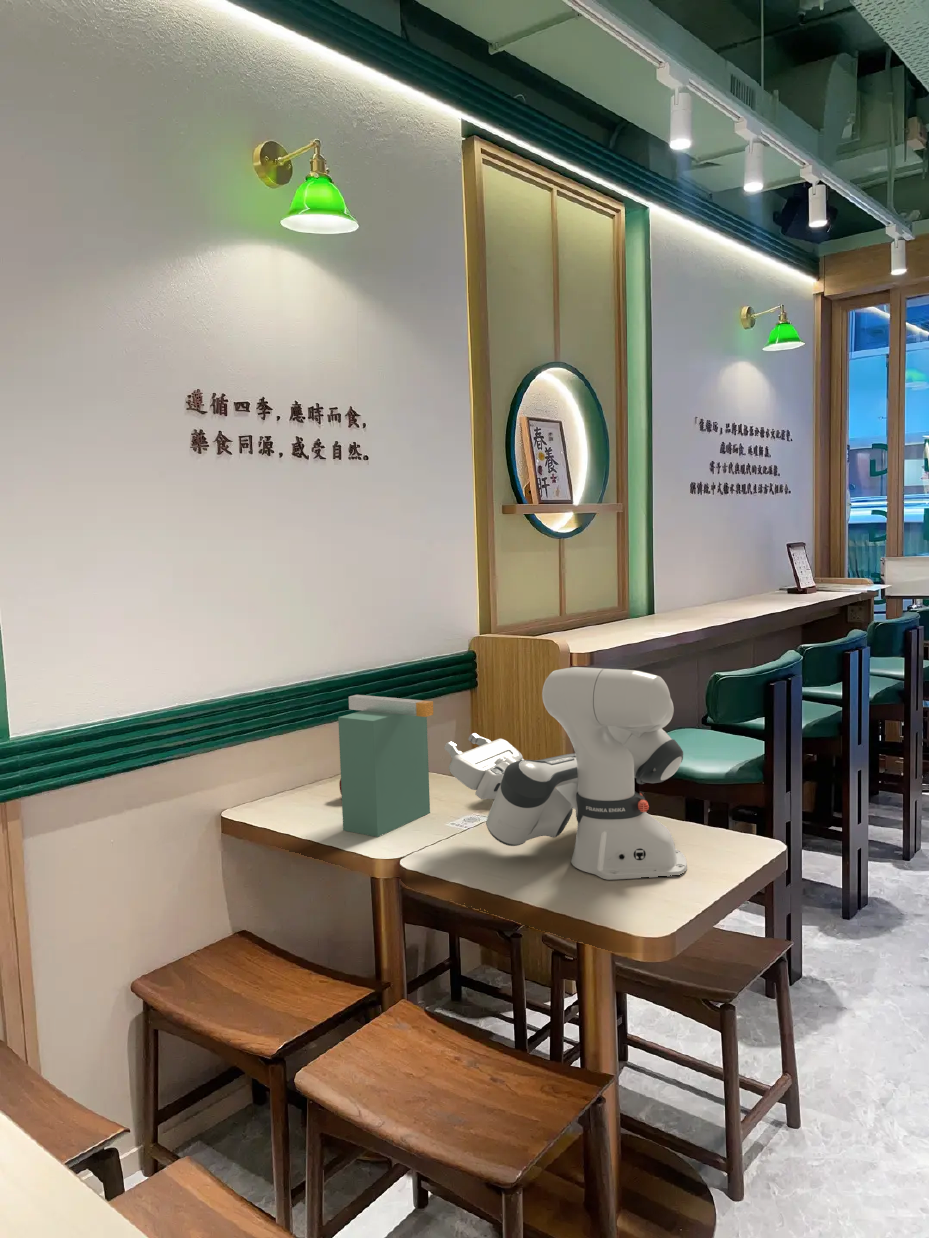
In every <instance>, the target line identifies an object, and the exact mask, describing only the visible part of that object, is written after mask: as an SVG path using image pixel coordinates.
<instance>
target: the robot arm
mask: <svg viewBox="0 0 929 1238" xmlns="http://www.w3.org/2000/svg"><path fill="white" fill-rule="evenodd" d="M665 681H666V680H664V679H663V678H662V677H661V676H660V675H656V674H653V673H649V672H645V671H642V670H635V669H619V668H599V667H581V666H580V667H579V666H573V667H572V666H571V667H566V668H561V669H556V670H555V669H554V670H553V671H552V672H550V673H549V675H548V676H547V677H546V679H545V680H544V683H543V686H542V691H541V692H542V693H541V697H542V703H543V706H544V707H545V710H546V711H547V712H548V714H549V715H550V716H551V717H553V718H554V719H555V720H556V721H557V722H558V723H559V724H560V726H561V727H562V728H563V730H564V731H565V732H566V735H567V736H568V738H569V740H570V742H571V745H572V746H573V750H574V753H567V754H561V755H556V756H552V757H546V758H542V759H541V758H540V759H535V760H534V759H524V758H523V755H522V753H521V752H520V750H518V749H517V748H516V747H515V746H513V745H512V744H511V743H510V742H509V741H507V740H506V739H504V738H497V739H495V740H492V741H491V740H490V739H489V738H485V737H483V736H480V735H479V734H477V733H476V732H473V733H471V734H469V736H468V741H469V742H471V743H472V745H475V744H476V745H477V747H475V748H472V749H469V750H466V751H464V752H462V751H461V750H458V748H457V744H456V743H455V742H453V741H448V742H446V743H445V745H444V748H443V749H444V751H446V752H448V754H449V756H450V757H451V762H450V763H449V766H448V770H449V772H450V773H451V775H452V776H453V777H455V779H457V780H458V781H459V782H460V783H462V784H463V785H464V786H465V787H466V788H468V789H470V790H473V791H475V796H476V797H478V799H481V800H493V802H492V805H491V806H490V809H489V812H488V814H487V818H486V822H485V824H486V827H487V830H488V832H489V833H490V836H492V837H493V838H494V839H495V840H496V841H497V842H499V843H500V844H503V845H505V846H508V847H509V846H510V847H517V846H520V845H524V844H525V843H526V842H527V841H529V840H530V841H531V840H532V839H535V838H538V837H539V838H540V837H549V838H557V837H559V836H560V835H561V834H562V832H563V831H564V829H565V828H566V826H567V824H568V823H569V821H570V819H571V817H572V815H573V812H574V811H573V810H575V818H576V821H577V826H576V827H577V828H576V836H575V844H574V850H573V854H572V857H571V864H572V866H573V867H574V868H576V869H578V870H580V871H582V872H586V873H589V874H592V875H596V876H598V877H599V878H601V879H602V880H603V879H604V880H608V881H609V880H610V881H614V880H626V879H627V880H629V879H642V878H641V877H649V878H659V877H658V876H667V877H673V876H672V875H679V874H682V873H683V872H684V871H686V872H687V870H688V863H687V862H688V861H687V858H686V856H685V855H684V853H683V852H682V851H681V850H679V849H677V848H676V845H675V840H674V838H673V835H672V833H671V832H670V830H669V828H668V827H667V826H666V825H664V824H663V823H661V821H659V820H658V819H656V818H654V817H653V815H651V814H650V813H647V812H648V810H649V808H650V806H649V802H648V801H647V800H646V798H645V796H643V793H641V792H639V793H638V792H637V791H635V779H636V783H637V784H639V785H644V784H646V783H647V784H657V783H658V784H659V783H663V782H664V781H666V780H668V779H670V778H671V777H672V776H673V775H675V774H676V773H677V771H678V770H679V768H680V766H681V764H682V763H683V760H684V750H683V749H682V748H681V746H680V744H678V742H677V741H676V740H675V739H674V738H671V736H670V735H669V734H668V733H667V732H666V731H665V730H664V729H663V728H665V727H666V726H667V725H669V723H670V722H671V720H672V718H673V716H674V711H675V709H674V703H673V700H672V698H671V693H670V689H669V687H668V685H667V682H665ZM686 869H687V870H686ZM670 875H671V876H670ZM682 875H683V874H682Z"/></svg>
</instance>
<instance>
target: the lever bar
mask: <svg viewBox="0 0 929 1238" xmlns="http://www.w3.org/2000/svg"><path fill="white" fill-rule="evenodd" d="M348 710H352V711H353V710H354V711H371V712H381V713H391V714H401V715H411V716H421V717H427V718H428V717H430V716H433V715H434V701H433V700H432V701H431V700H422V699H411V698H401V697H400V698H399V697H398V698H397V697H390V696H389V697H387V696H375V695H367V694H366V695H365V694H354V695H350V696H348Z"/></svg>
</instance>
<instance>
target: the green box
mask: <svg viewBox="0 0 929 1238" xmlns="http://www.w3.org/2000/svg"><path fill="white" fill-rule="evenodd" d="M337 719H338V723H337V724H338V735H339V736H338V743H339V764H340V765H339V766H340V769H339V770H340V779H341V792H342V795H341V807H342V808H341V810H342V814H341V815H342V831H345V832H350V833H355V834H360V835H365V836H366V835H367V836H370V837H371V836H372V837H375V836H376V838H378V837H381V836H383V835H385V834H387V833H389V832H391V831H395V830H396V829H398V828H400V827H403V826H404V825H407V824H409V823H411V822H415V820H418V819H420V818H422V817H425V816H426V815H428V814H431V800H430V799H431V798H430V797H431V796H430V777H429V776H430V773H429V768H430V767H429V747H428V746H429V744H428V743H429V742H428V739H429V738H428V716H427V717H421V716H411V715H401V714H391V713H381V712H371V711H361V710H358V711H355V712H353V713H349V714H346V715H342V716H338V718H337ZM341 792H340V793H341ZM382 834H383V835H382ZM380 835H381V836H380Z"/></svg>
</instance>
